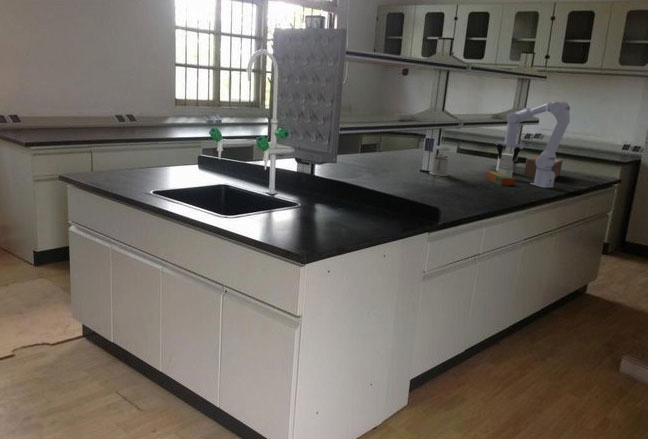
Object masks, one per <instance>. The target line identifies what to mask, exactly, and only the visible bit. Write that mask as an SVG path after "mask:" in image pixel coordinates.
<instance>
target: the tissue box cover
mask: <svg viewBox="0 0 648 439" xmlns="http://www.w3.org/2000/svg"><path fill="white" fill-rule="evenodd" d="M539 156H540V155H535V156H532V157H530V158H527V159H526V163H525V168H524V172H523V176H524V177H527V178H532V179H535V174H536V169H537V166H536V159H537V158H538V157H539ZM563 160H564V159H561V158H555V164H554V166H553V167H551V171H553V172H554V173H555V179H556V178H558V177H560V176H559V175H561V170H562V165H563ZM557 176H558V177H557Z"/></svg>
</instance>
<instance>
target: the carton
mask: <svg viewBox="0 0 648 439" xmlns="http://www.w3.org/2000/svg"><path fill="white" fill-rule="evenodd" d="M484 179H486V180H488V181H491V182H493V183H495V184H498V185H500V186H509V185H513V186H515V184H516V178H515V177H513V176H512V177H509V176H507V175H505V174H502V173H500V172H498V171H486V172H485V178H484Z"/></svg>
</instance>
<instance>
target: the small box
mask: <svg viewBox="0 0 648 439" xmlns="http://www.w3.org/2000/svg"><path fill="white" fill-rule="evenodd" d="M513 155H514V153H513V154H512V153H505V152H502V157H501V159H499V155H498V156H497V163H496V168H495V171H496V172H499V166H507V167H510V168H513V165H514V161H512V160H513Z"/></svg>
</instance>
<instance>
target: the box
mask: <svg viewBox="0 0 648 439" xmlns="http://www.w3.org/2000/svg"><path fill="white" fill-rule="evenodd" d="M514 170H515V169H514V168H513V167H512V168H510V167H507V166H499V172H500V173H502V174H505V175H507V176H509V177H512V178H513V172H514Z"/></svg>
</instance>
